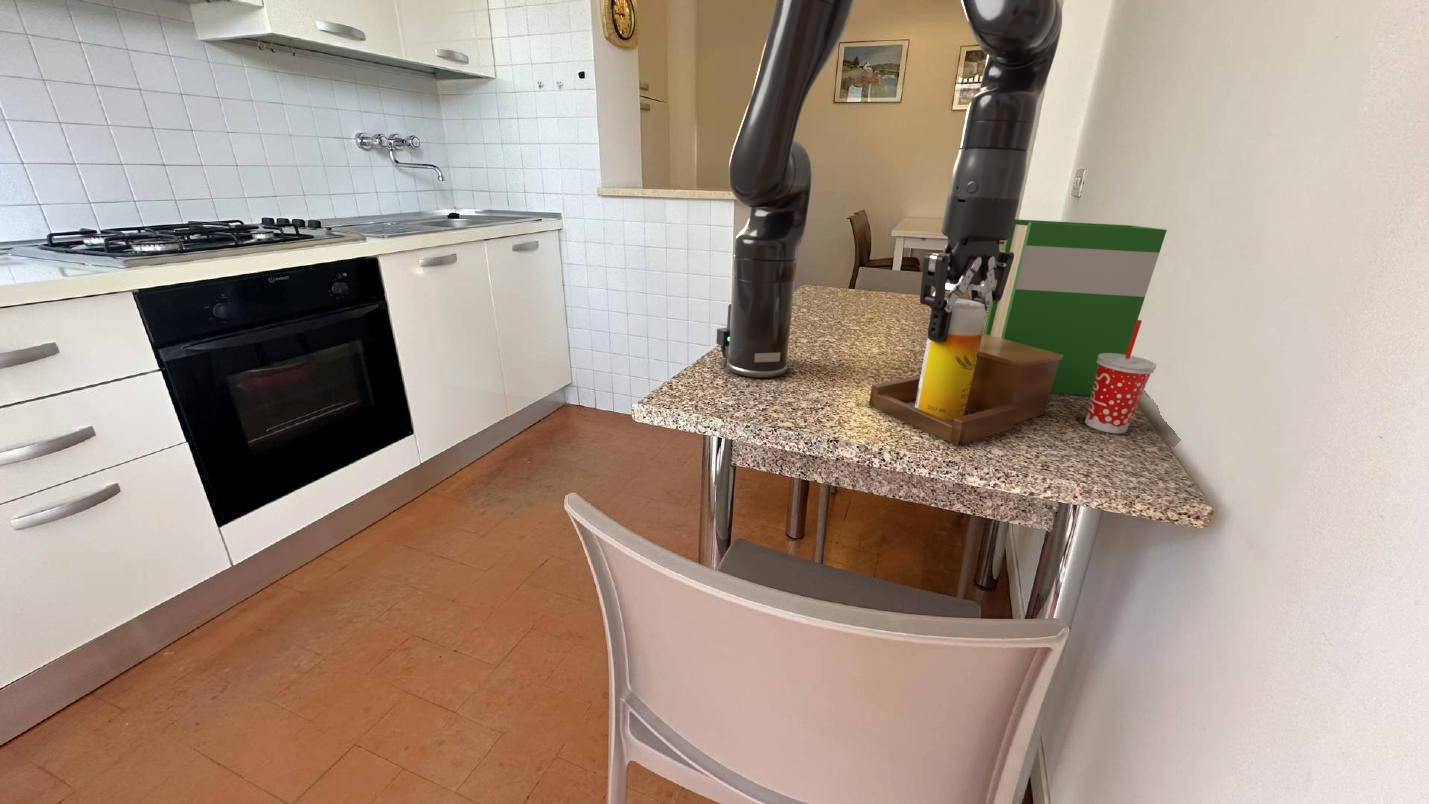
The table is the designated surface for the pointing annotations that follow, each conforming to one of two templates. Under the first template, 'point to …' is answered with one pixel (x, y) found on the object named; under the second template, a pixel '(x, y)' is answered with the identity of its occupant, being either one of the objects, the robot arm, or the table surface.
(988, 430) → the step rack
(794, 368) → the table surface
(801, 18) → the robot arm
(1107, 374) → the beverage cup
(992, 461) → the table surface
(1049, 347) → the hardback book
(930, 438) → the table surface
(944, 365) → the beer can
